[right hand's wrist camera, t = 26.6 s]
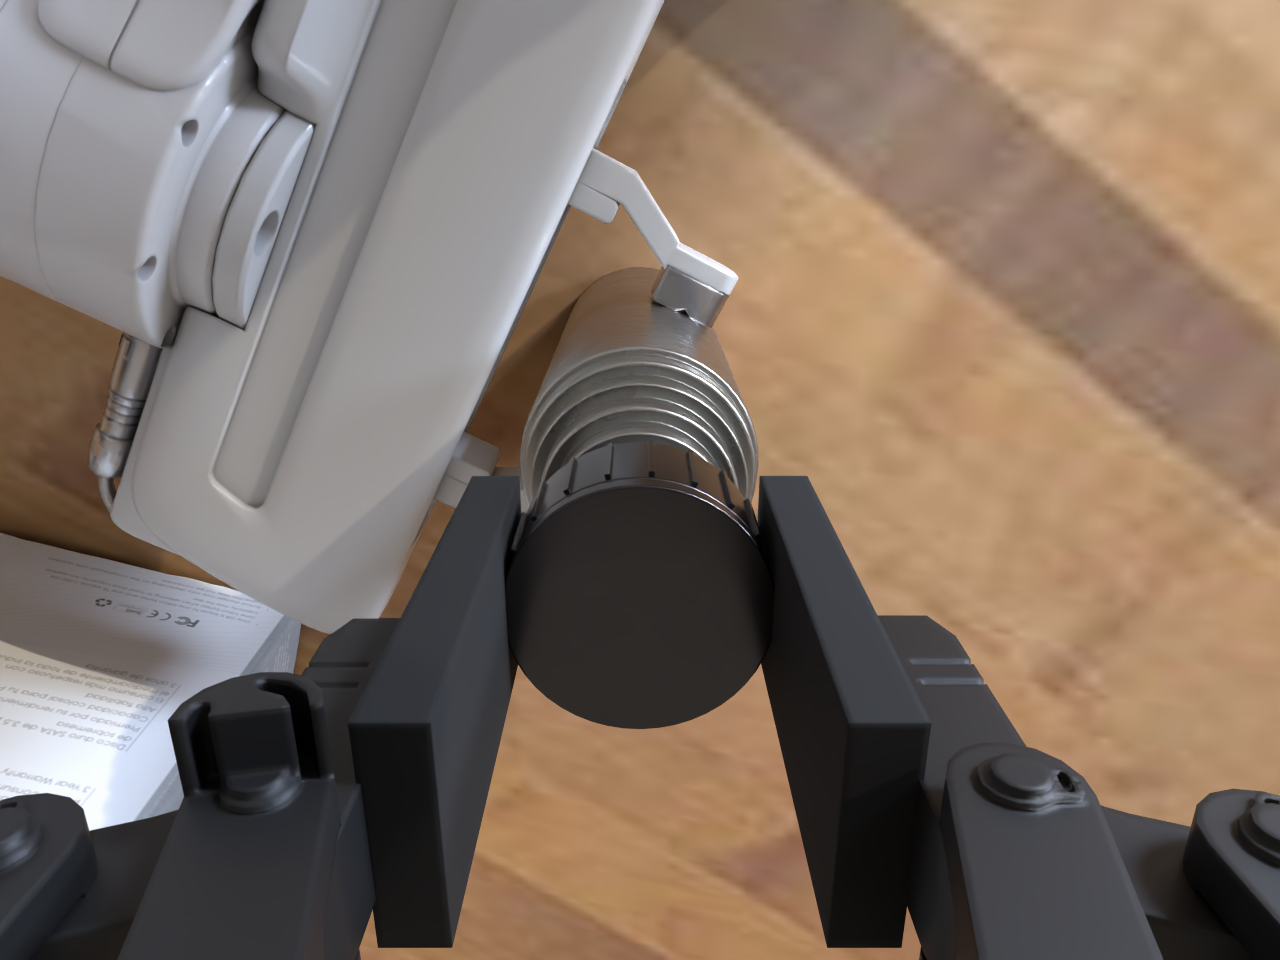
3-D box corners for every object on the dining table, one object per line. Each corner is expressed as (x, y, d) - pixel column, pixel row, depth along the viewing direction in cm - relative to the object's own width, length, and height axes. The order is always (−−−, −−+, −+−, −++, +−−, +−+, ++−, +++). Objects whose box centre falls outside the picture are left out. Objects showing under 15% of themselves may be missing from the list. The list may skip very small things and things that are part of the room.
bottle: (669, 238, 29) (708, 364, 13) (738, 370, 31) (856, 638, 14) (537, 313, 30) (411, 524, 13) (611, 438, 32) (581, 765, 15)
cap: (493, 634, 15) (474, 701, 13) (544, 412, 14) (530, 452, 12) (723, 684, 15) (734, 756, 14) (793, 471, 14) (816, 520, 12)
